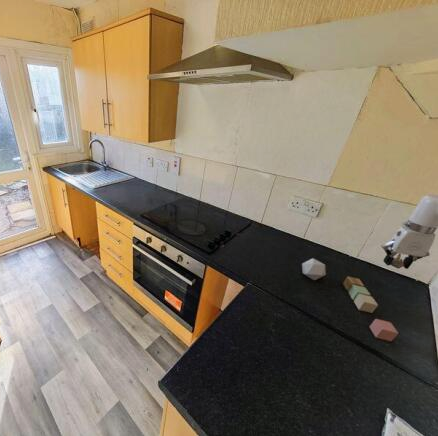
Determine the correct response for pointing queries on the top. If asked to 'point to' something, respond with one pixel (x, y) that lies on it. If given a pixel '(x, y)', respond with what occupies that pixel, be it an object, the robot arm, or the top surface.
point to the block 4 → (383, 330)
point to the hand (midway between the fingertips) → (395, 264)
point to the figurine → (397, 262)
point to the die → (313, 269)
